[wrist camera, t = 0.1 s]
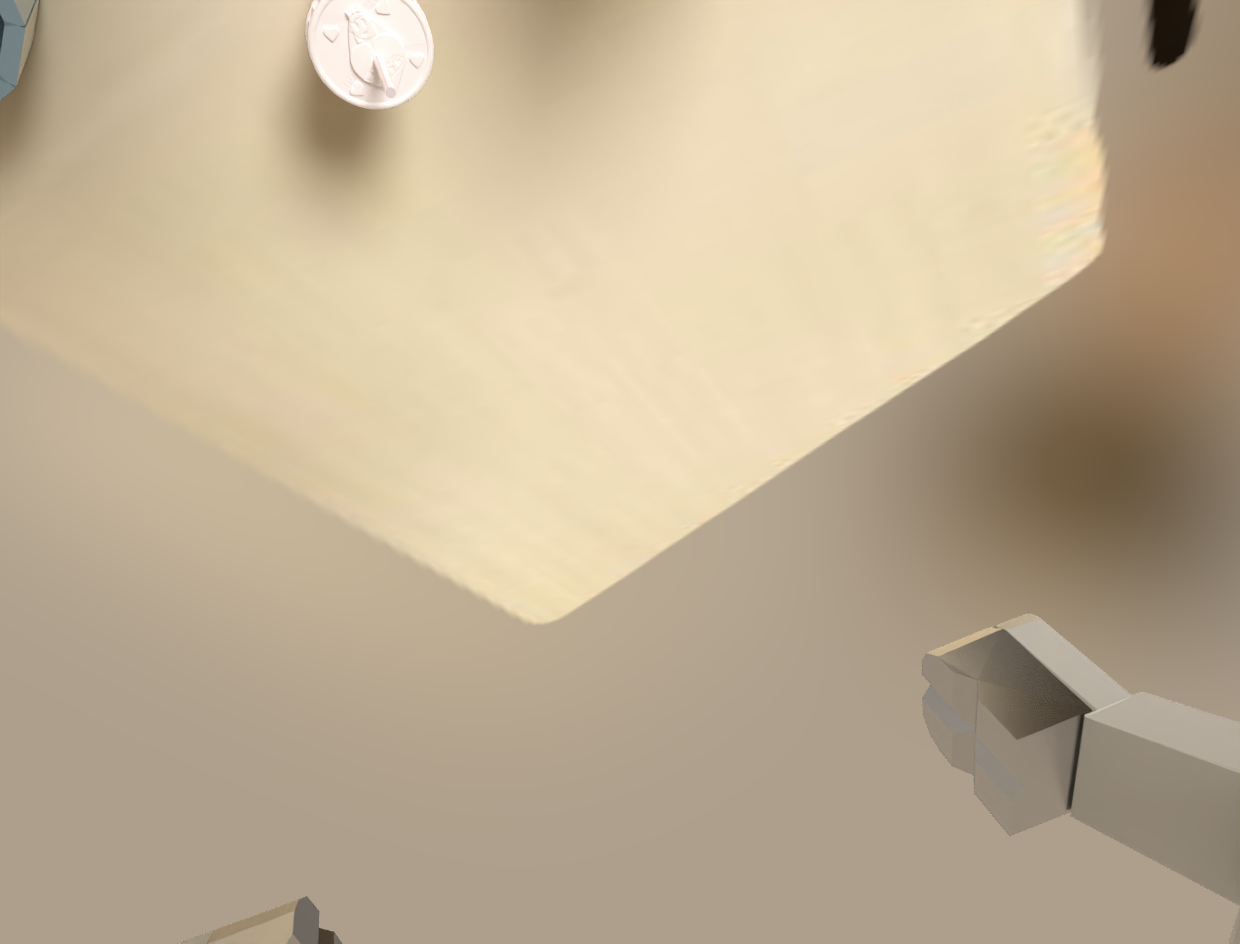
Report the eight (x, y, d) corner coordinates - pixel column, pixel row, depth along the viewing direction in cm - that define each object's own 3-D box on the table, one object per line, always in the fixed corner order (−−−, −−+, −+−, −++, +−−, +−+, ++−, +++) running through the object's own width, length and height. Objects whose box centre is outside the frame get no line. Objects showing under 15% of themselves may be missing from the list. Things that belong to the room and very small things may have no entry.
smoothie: (333, 64, 50) (361, 168, 41) (268, -45, 45) (284, 47, 36) (425, 18, 50) (472, 112, 41) (370, -96, 45) (411, -17, 36)
